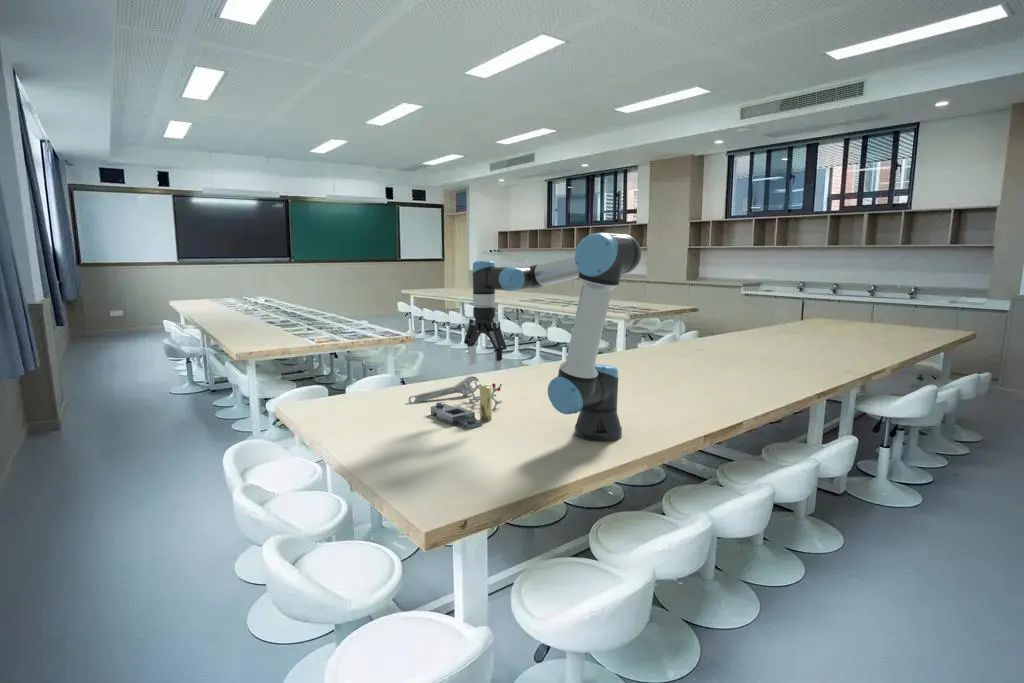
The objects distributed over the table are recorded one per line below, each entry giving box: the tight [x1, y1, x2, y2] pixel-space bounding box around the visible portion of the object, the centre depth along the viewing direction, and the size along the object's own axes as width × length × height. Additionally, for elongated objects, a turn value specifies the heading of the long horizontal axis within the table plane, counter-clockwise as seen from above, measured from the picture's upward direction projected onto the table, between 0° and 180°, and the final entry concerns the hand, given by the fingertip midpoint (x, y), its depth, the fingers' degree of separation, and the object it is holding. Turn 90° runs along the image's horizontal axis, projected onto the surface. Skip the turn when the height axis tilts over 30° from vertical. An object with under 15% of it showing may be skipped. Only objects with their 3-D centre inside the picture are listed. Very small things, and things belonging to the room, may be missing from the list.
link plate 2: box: [436, 413, 483, 430], centre depth 192 cm, size 16×10×2 cm, turn 41°
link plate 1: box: [430, 401, 476, 422], centre depth 197 cm, size 16×10×4 cm, turn 41°
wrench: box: [408, 375, 480, 404], centre depth 223 cm, size 8×2×30 cm
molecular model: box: [463, 381, 503, 410], centre depth 213 cm, size 19×10×10 cm, turn 34°
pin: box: [479, 385, 493, 423], centre depth 194 cm, size 4×4×12 cm
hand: (484, 367), depth 193 cm, fingers open, 13 cm apart
